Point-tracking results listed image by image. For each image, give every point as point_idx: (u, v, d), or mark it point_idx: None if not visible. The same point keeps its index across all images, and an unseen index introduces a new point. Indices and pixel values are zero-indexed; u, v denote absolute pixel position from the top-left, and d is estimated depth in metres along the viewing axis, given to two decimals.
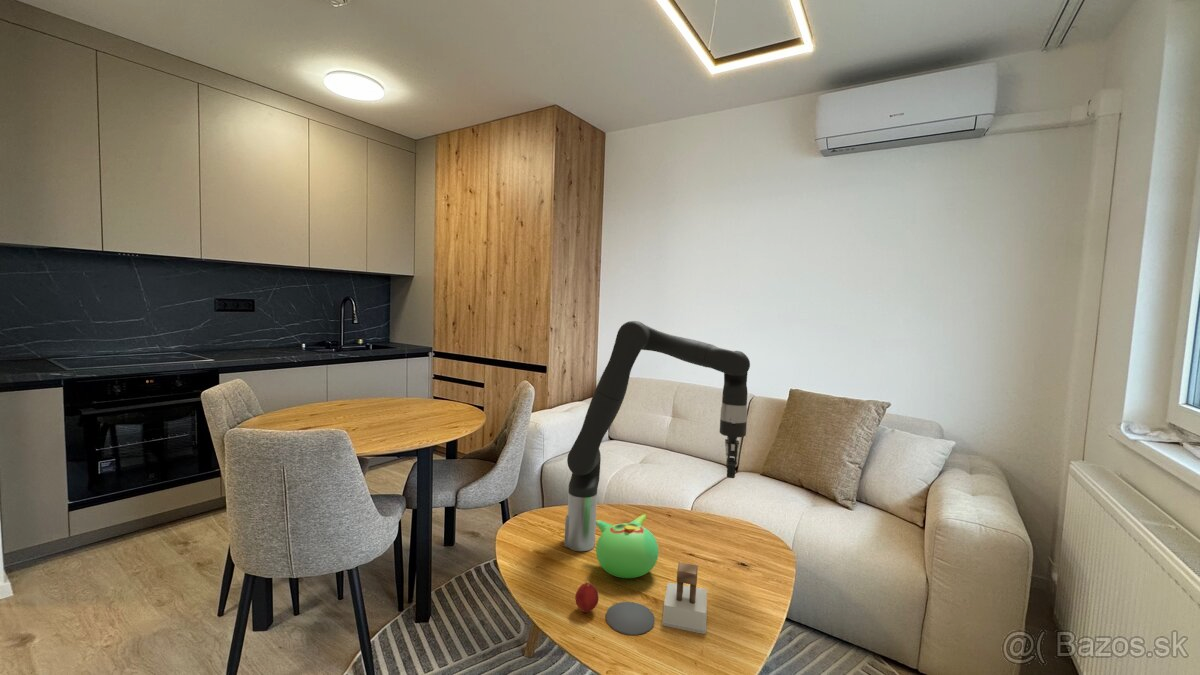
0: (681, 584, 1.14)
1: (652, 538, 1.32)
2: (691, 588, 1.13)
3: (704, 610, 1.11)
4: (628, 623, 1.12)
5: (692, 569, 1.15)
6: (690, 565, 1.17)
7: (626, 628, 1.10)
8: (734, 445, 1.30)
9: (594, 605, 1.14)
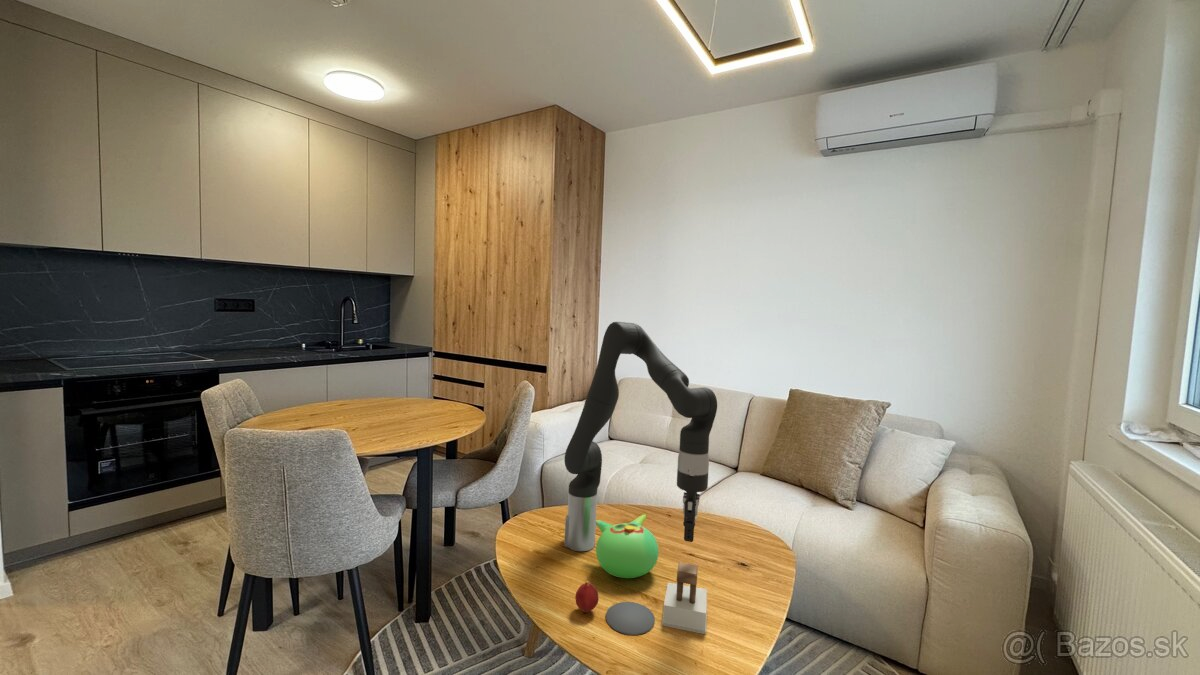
0: (681, 584, 1.14)
1: (652, 538, 1.32)
2: (691, 588, 1.13)
3: (704, 610, 1.11)
4: (628, 623, 1.12)
5: (692, 569, 1.15)
6: (690, 565, 1.17)
7: (626, 628, 1.10)
8: (691, 503, 1.08)
9: (594, 605, 1.14)
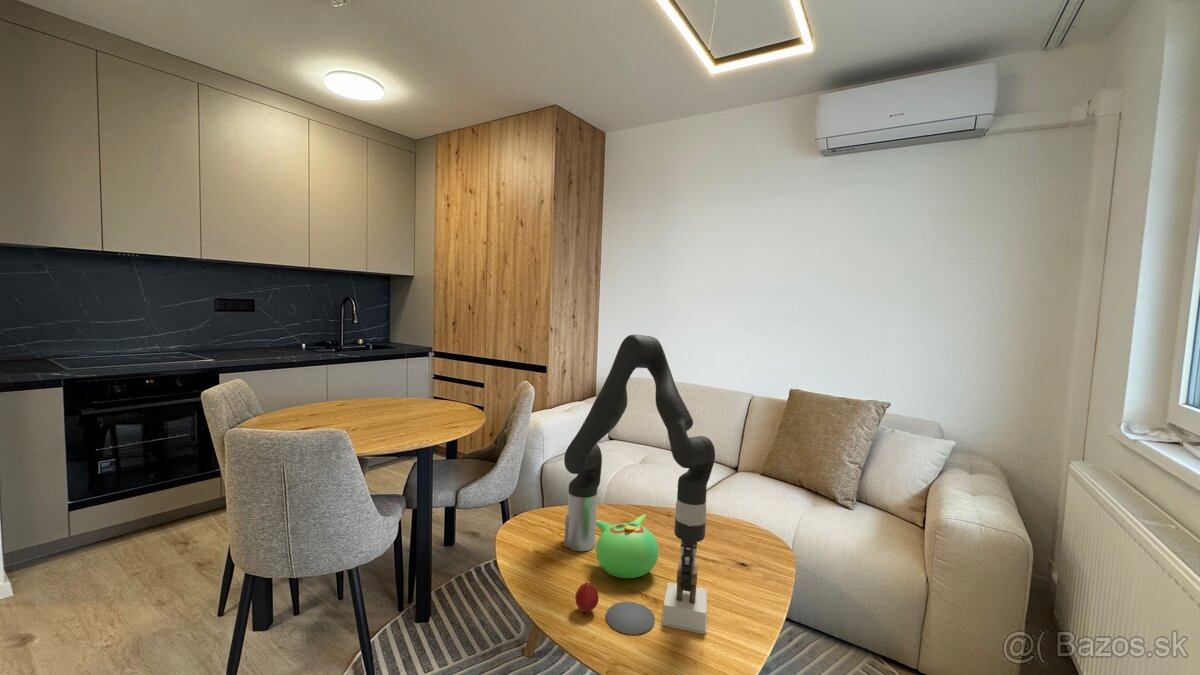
0: (681, 584, 1.14)
1: (652, 538, 1.32)
2: (691, 588, 1.13)
3: (704, 610, 1.11)
4: (628, 623, 1.12)
5: (692, 569, 1.15)
6: None
7: (626, 628, 1.10)
8: (688, 559, 1.08)
9: (594, 605, 1.14)
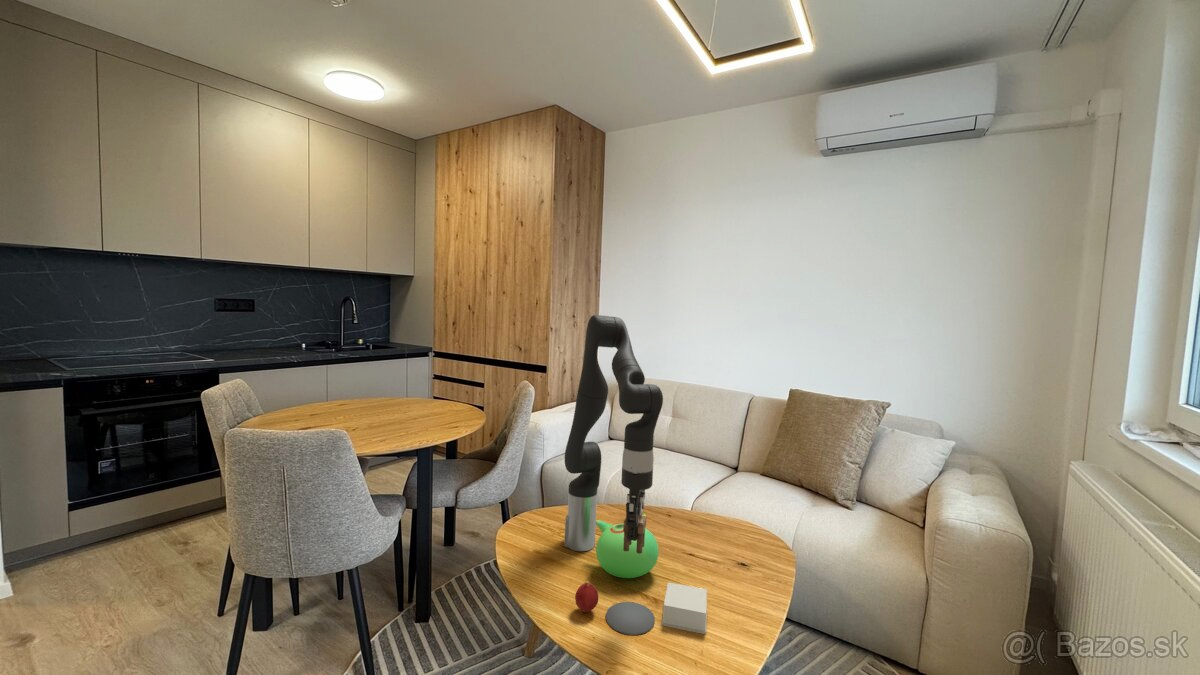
0: None
1: (652, 538, 1.32)
2: (638, 537, 1.11)
3: (704, 610, 1.11)
4: (628, 623, 1.12)
5: (639, 519, 1.13)
6: None
7: (626, 628, 1.10)
8: (633, 506, 1.06)
9: (594, 605, 1.14)
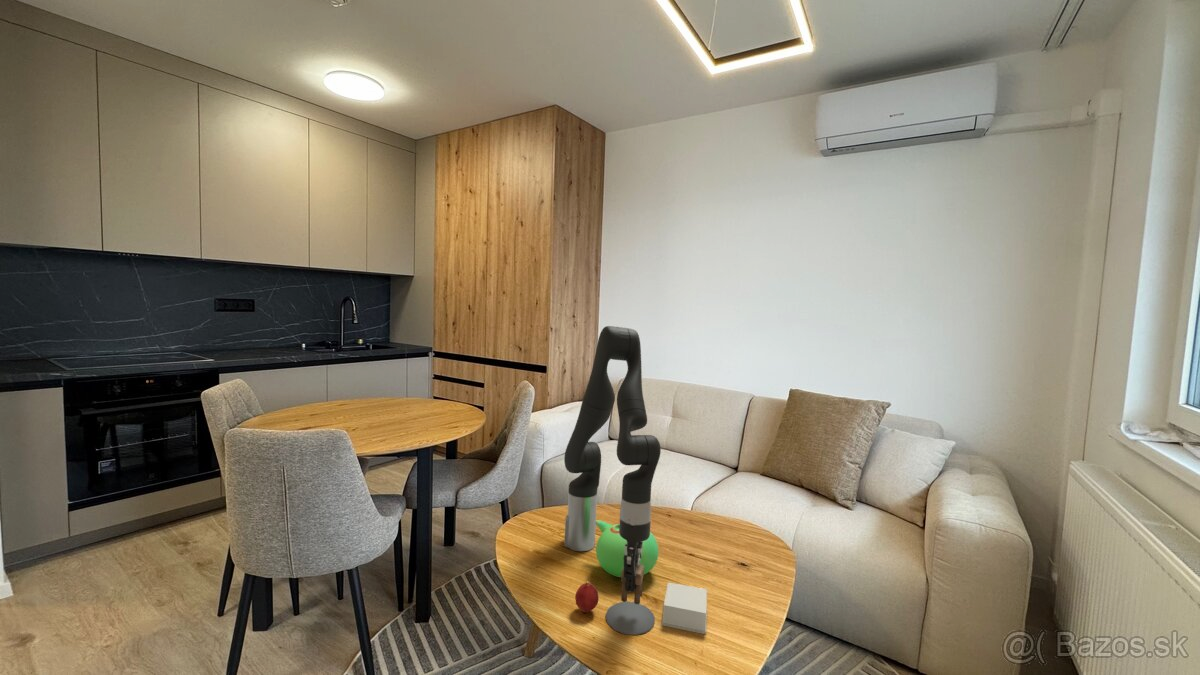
0: None
1: (652, 538, 1.32)
2: (636, 588, 1.11)
3: (704, 610, 1.11)
4: (628, 623, 1.12)
5: (637, 569, 1.13)
6: None
7: (626, 628, 1.10)
8: (630, 559, 1.07)
9: (594, 605, 1.14)
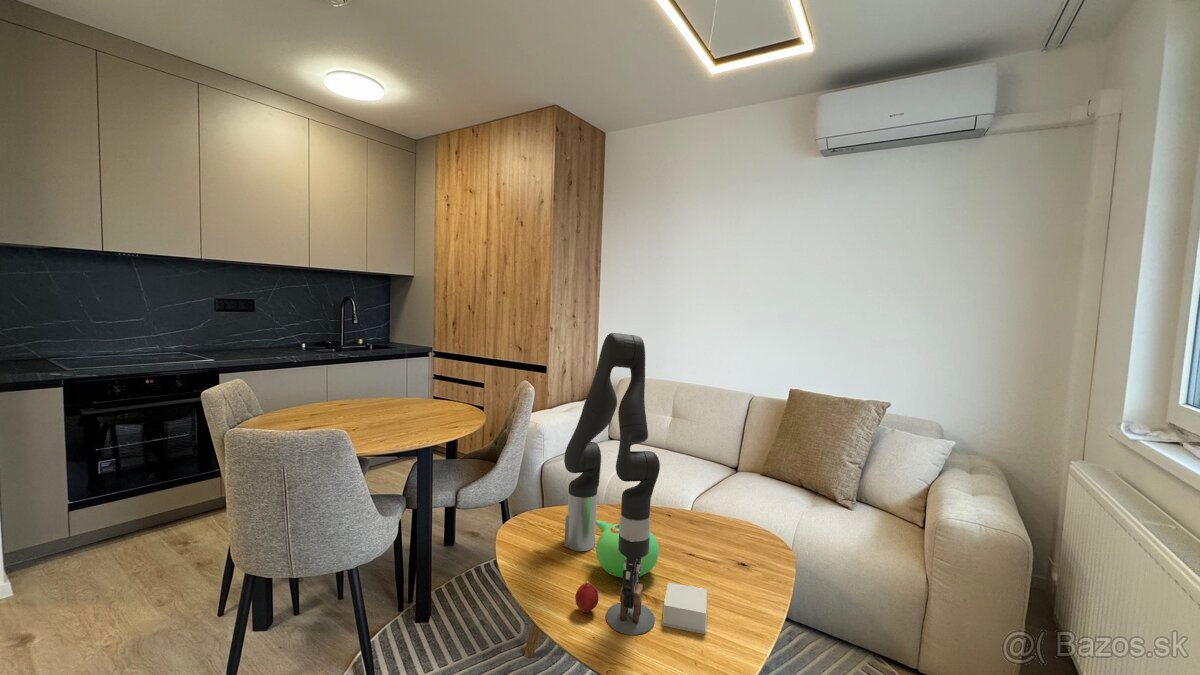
0: None
1: (652, 538, 1.32)
2: (634, 608, 1.12)
3: (704, 610, 1.11)
4: (628, 623, 1.12)
5: (636, 588, 1.13)
6: (635, 584, 1.15)
7: (626, 628, 1.10)
8: (629, 573, 1.07)
9: (594, 605, 1.14)
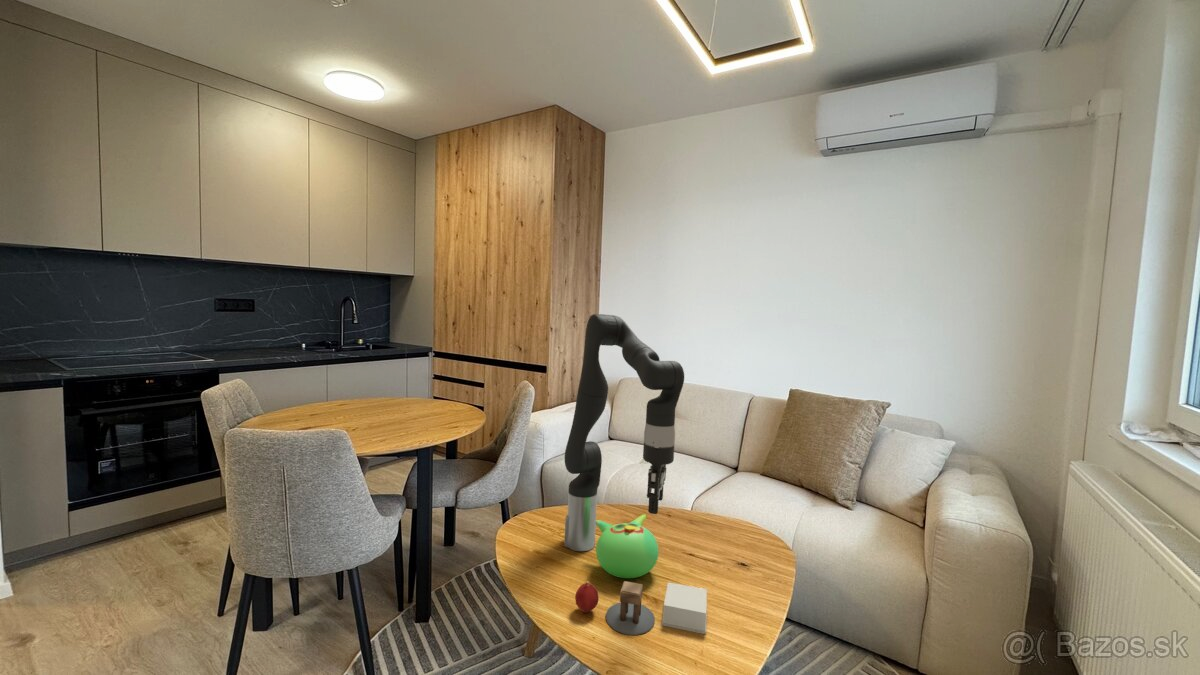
0: (624, 604, 1.12)
1: (652, 538, 1.32)
2: (634, 608, 1.12)
3: (704, 610, 1.11)
4: (628, 623, 1.12)
5: (636, 588, 1.13)
6: (635, 584, 1.15)
7: (626, 628, 1.10)
8: (655, 475, 1.08)
9: (594, 605, 1.14)
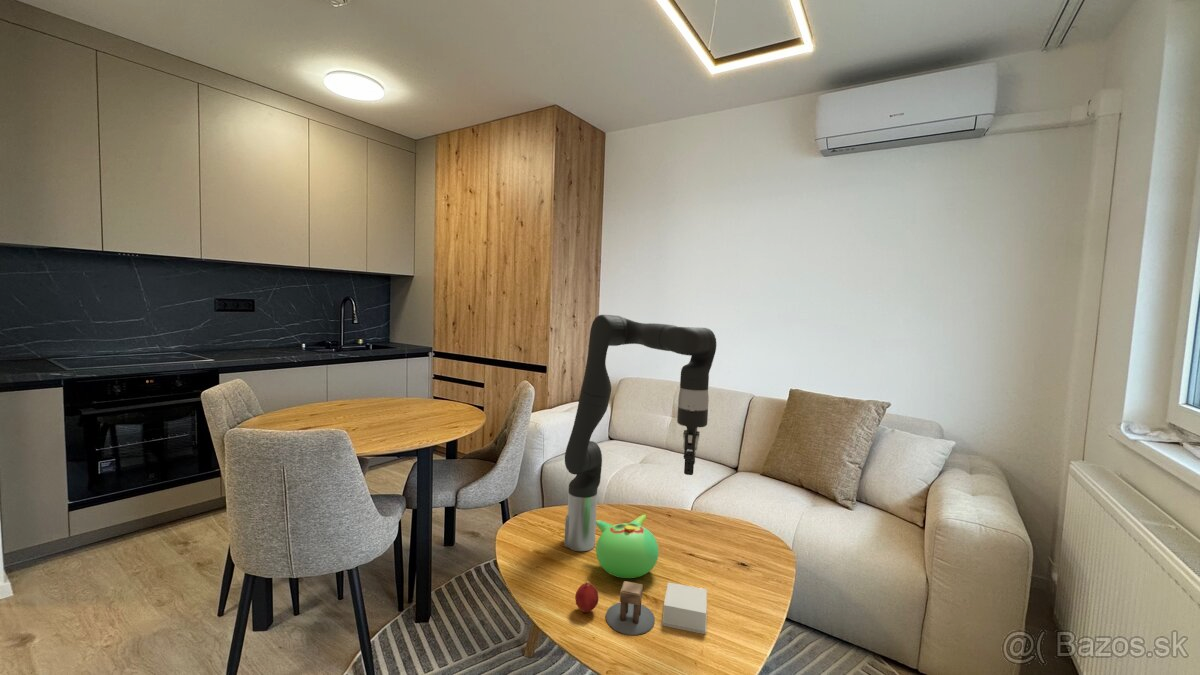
0: (624, 604, 1.12)
1: (652, 538, 1.32)
2: (634, 608, 1.12)
3: (704, 610, 1.11)
4: (628, 623, 1.12)
5: (636, 588, 1.13)
6: (635, 584, 1.15)
7: (626, 628, 1.10)
8: (691, 436, 1.11)
9: (594, 605, 1.14)
